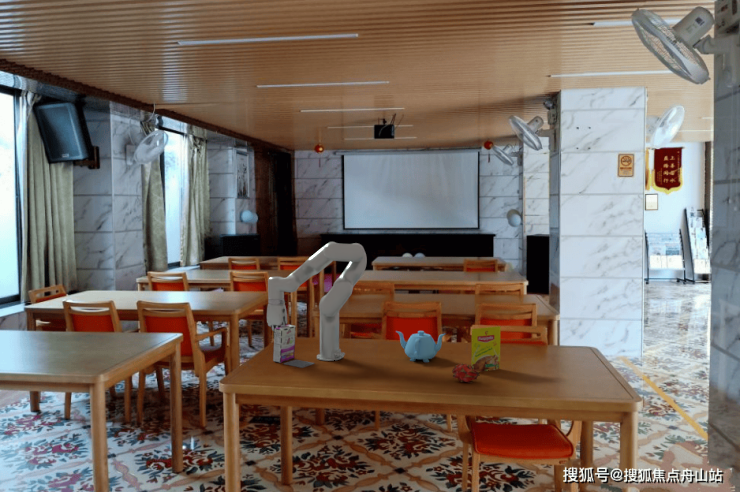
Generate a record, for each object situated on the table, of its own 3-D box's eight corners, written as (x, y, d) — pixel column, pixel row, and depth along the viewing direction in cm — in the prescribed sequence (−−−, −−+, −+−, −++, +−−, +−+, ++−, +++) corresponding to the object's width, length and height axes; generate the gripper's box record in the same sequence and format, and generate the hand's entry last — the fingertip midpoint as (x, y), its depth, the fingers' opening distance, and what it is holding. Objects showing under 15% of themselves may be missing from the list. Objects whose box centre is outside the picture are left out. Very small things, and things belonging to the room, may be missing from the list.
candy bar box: (286, 356, 296) (288, 324, 294) (294, 358, 294) (296, 325, 292) (272, 361, 286) (274, 327, 285) (280, 363, 284) (282, 329, 282)
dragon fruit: (450, 383, 257) (477, 390, 253) (448, 376, 250) (476, 383, 246) (454, 365, 261) (481, 371, 257) (453, 357, 254) (481, 364, 250)
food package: (471, 372, 268) (472, 329, 267) (470, 372, 269) (471, 328, 268) (500, 369, 274) (501, 326, 272) (499, 368, 275) (499, 326, 273)
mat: (314, 363, 283) (314, 363, 283) (302, 367, 276) (302, 367, 276) (295, 360, 290) (295, 359, 290) (283, 364, 283) (283, 363, 283)
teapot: (445, 361, 288) (445, 333, 287) (409, 365, 281) (409, 336, 280) (430, 354, 303) (430, 326, 302) (395, 357, 296) (395, 329, 295)
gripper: (292, 302, 290) (293, 339, 291) (270, 299, 298) (271, 335, 299) (282, 304, 283) (282, 342, 285) (259, 301, 292) (260, 338, 293)
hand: (276, 338), depth 292 cm, fingers closed
